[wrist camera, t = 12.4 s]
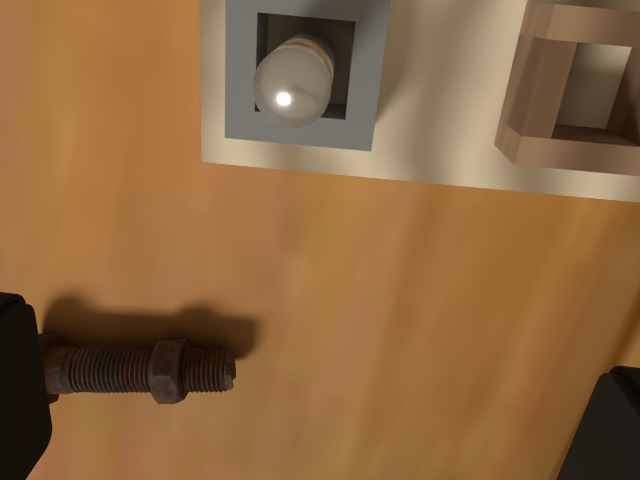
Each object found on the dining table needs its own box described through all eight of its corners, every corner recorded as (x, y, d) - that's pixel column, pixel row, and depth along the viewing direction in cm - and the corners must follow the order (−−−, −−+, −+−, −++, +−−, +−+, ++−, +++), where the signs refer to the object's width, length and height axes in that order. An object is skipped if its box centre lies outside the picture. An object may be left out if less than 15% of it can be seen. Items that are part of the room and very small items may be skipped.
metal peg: (338, 31, 28) (334, 51, 19) (333, 88, 30) (327, 131, 21) (283, 26, 28) (253, 44, 19) (280, 83, 30) (251, 125, 21)
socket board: (734, -36, 28) (820, -42, 23) (647, 195, 33) (701, 231, 28) (205, -85, 28) (175, -102, 23) (207, 155, 33) (183, 183, 28)
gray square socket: (385, -11, 27) (392, -12, 24) (367, 132, 31) (371, 151, 27) (241, -24, 27) (225, -27, 24) (238, 120, 31) (224, 138, 27)
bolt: (241, 346, 42) (54, 346, 42) (232, 317, 38) (24, 318, 38) (234, 420, 39) (31, 420, 39) (223, 398, 34) (-4, 398, 34)
